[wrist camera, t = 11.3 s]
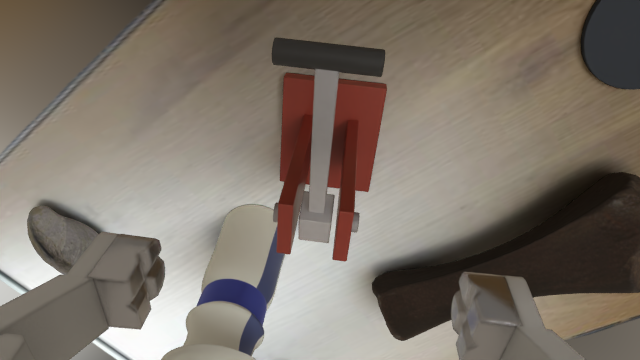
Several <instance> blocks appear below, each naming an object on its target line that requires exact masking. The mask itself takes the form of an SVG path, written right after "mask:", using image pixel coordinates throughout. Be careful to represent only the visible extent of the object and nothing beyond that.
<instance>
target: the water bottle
mask: <svg viewBox="0 0 640 360" xmlns="http://www.w3.org/2000/svg"><path fill="white" fill-rule="evenodd" d="M273 212H274V210H272V209H270V208H267V207H264V206H260V205H243V206H239V207H237V208H235V209H233V210H232V211H231V212H229V214H228V215H227V216H226V218H225V220H224V223H223V226H222V229H221V232H220V235H219V238H218V241H217V244H216V246H215V249H214V252H213V254H212V257H211V259H210V262H209V264H208V266H207V269H206V272H205V274H204V278H203V281H202V289H201V290H202V294H201V297H200V299H199V301H198V304H197V306H196V307H195V308H193V309H192V310H191V311H190V312H189V314H188V316H187V319H186V327H187V331H188V334H187V338H186V341H185V343H184V345H183V346H182V347H178V348H176V349H173V350H171V351H170V352H168V353H167V354H165V355H164V356H163V358H162V359H161V360H256V359H255V358H253V357H252V354H253V352H254V350H255V349H257V348H258V347H259V346H260V345H261V343H262V341H263V338H264V329H263V327H262V326H263V322H264V318H265V313H266V311H267V309H268V308H269V306H270V304H271V302H272V300H273V297H274V294H275V290H276V286H277V282H278V278H279V274H280V270H281V267H282V263H283V260H284V256H285V254H283V253H277V252H276V250H277V222H273Z"/></svg>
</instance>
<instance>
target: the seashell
mask: <svg viewBox="0 0 640 360" xmlns="http://www.w3.org/2000/svg"><path fill="white" fill-rule="evenodd" d="M27 226H28V235H29V238H30V241H31V243H32V245H33V247H34V249H35V250H36V252H37V253H38V254H39V255H40V257H41V258H42V259H43V260H44V261H45V262H46V263H48V264H49V265H51V266H52V267H54V268H55V269H56V270H57V271H59V272H60V273H62V274H63V275H67V273H68V272H69V271H70V270H71V268H72V267H73V266H74V264H75V263H76V262H77V260H78V259H79V258H80V257H81V255H82V254H83V253H84V251H85V250H86V249H87V248H88V246H89V245H90V244H91V242H92V241H93V240H94V239H95V237H96V236H97V235H98V233H97V232H96V231H94V230H93V229H91V228H90V227H89V226H87V225H85V224H83V223H81V222H79V221H76V220H74V219H71V218H66V217H63V216H61V215H59V214H57V213H56V212H55V211H53V210H52V209H50V208H49V207H47V206H37V207H34V208H33V209H32V210H31V211H30V213H29V216H28V220H27Z"/></svg>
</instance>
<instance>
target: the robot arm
mask: <svg viewBox="0 0 640 360" xmlns="http://www.w3.org/2000/svg"><path fill="white" fill-rule="evenodd" d="M160 251H161V245H160V241H159V240H158V239H155V238H148V237H140V236H132V235H125V234H114V233H107V232H102V233H100V234H98V235H97V236H96V237H95V239H94V240H93V241H92V242H91V244H90V245H89V246H88V248H87V249H86V250H85V251H84V253H83V254H82V255H81V257H80V258H79V259H78V260H77V262H76V263H75V264H74V266H73V267H72V268H71V270H70V271H69V272H68V273H67V275H59V276H57V277H55V278H53V279H51V280H50V281H48V282H46V283H44V284H42V285H40V286H38V287H36V288H34V289H32V290H30V291H29V292H27V293H25V294H23V295H21V296H19V297H17V298H15V299H13V300H11V301H10V302H8V303H6V304H4V305H2V306H0V360H69V359H71V358H72V357H73V356H75V355H76V354H77V353H78V352H80V351H81V350H82V349H83V348H85V347H86V346H87V345H88V344H90V343H91V342H92V341H94V340H95V339H96V338H97V337H99V336H100V335H101V334H102V333H104V332H105V331H106V330H107V329H109V327H119V328H131V329H141V328H142V326H143V324H144V322H145V320H146V318H147V316H148V314H149V312H150V310H151V305H150V300H152V299H153V298H155V297H156V296H158V295H159V292H160V290H161V288H162V286H163V282H164V278H165V265H164V261H163V260H162V259H161V258H160V257H159V256H158V255H159V253H160ZM459 285H460V290H459V291H458V292H456V293H455V294H454V298H453V301H452V308H451V319H452V326H453V329H454V330H455V331H456V333H457V334H458V335H459V337H458V339H457V342H456V347H457V352H458V356H459V360H585V359H584V358H583V357H582V356H581V355H580V354H579V353H577V352H576V351H575V350H574V349H573V348H572V347H570V346H569V345H568V344H567V343H566V342H565V341H564V340H563V339H562V338H560V337H559V336H558V335H557V334H556V333H555V332H554V331H552V330H550V329H545V326H544V324H543V321H542V319H541V316H540V314H539V312H538V309H537V307H536V304H535V302H534V299H533V297H532V295H531V292H530V290H529V287H528V285H527V282H526V280H525V279H524V278H523V277H514V276H504V275H503V276H501V275H493V274H483V273H473V272H463V274H462V275H461V277H460V280H459Z"/></svg>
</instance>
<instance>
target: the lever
mask: <svg viewBox="0 0 640 360" xmlns="http://www.w3.org/2000/svg"><path fill="white" fill-rule="evenodd" d="M384 61H385V50H383V49H374V48H365V47H356V46H347V45H338V44H329V43H321V42H312V41H303V40H294V39H285V38H275V39H274V41H273V47H272V63H273V64H274V65H281V66H289V67H298V68H307V69H315V79H314V100H313V122H312V143H311V164H310V186H309V192H306V191H304V192H303V198H302V204H301V210H300V215H299V239H300V240H308V241H315V242H323V243H329V237H330V229H331V221H332V213H333V204H334V195H331V194H327V185H328V176H329V166H330V157H331V147H332V137H333V128H334V118H335V108H336V99H337V89H338V80H339V72H342V73H350V74H359V75H368V76H377V77H381V76H382V73H383V68H384Z"/></svg>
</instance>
